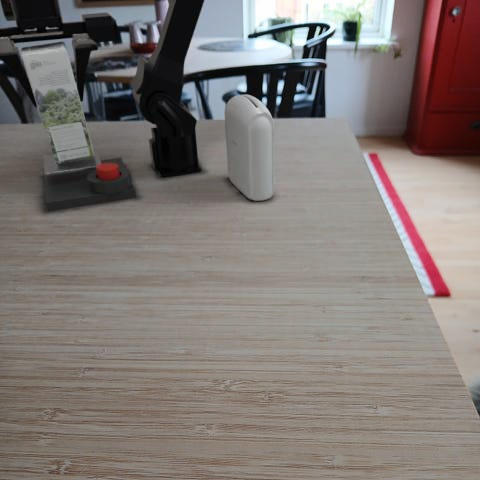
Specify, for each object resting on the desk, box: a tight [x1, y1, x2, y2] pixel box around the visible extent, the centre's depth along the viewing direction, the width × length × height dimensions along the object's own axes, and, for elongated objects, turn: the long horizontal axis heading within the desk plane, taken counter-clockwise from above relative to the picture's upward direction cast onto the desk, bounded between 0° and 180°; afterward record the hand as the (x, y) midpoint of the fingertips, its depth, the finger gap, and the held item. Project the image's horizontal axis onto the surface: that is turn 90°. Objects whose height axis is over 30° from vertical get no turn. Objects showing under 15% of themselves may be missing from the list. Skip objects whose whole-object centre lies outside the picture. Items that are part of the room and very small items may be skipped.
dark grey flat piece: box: [42, 157, 137, 213], centre depth 75 cm, size 12×14×3 cm
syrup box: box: [20, 41, 95, 164], centre depth 71 cm, size 6×6×14 cm
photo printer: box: [224, 94, 275, 202], centre depth 70 cm, size 10×4×12 cm, turn 20°
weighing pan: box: [42, 148, 101, 176], centre depth 76 cm, size 8×8×1 cm
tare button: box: [96, 163, 120, 180], centre depth 71 cm, size 3×3×2 cm
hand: (59, 103), depth 71 cm, fingers closed on syrup box, 6 cm apart
